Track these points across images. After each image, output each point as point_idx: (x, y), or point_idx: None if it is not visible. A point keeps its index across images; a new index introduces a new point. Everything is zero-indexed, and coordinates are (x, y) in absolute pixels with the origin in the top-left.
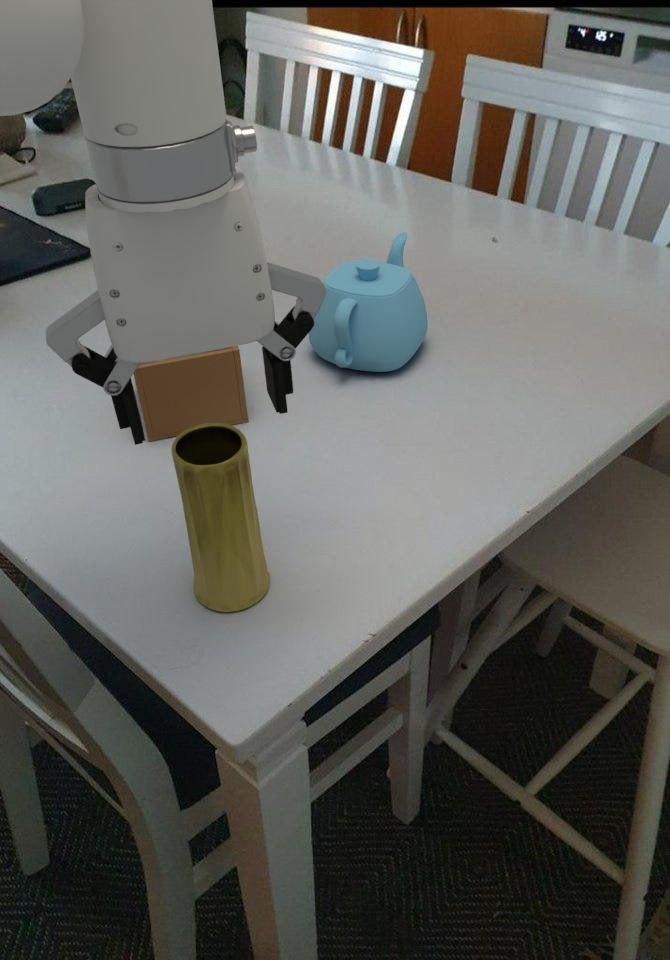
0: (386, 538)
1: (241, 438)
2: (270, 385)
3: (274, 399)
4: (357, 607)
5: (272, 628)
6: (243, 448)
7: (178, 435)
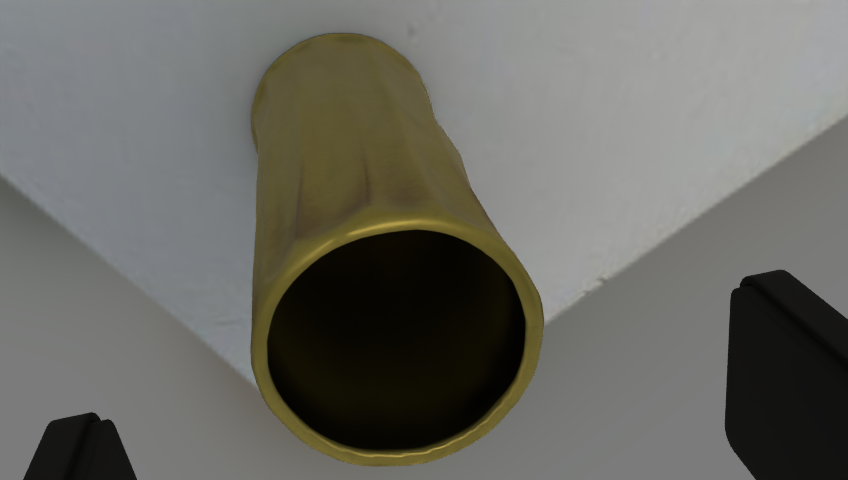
0: (717, 21)
1: (528, 326)
2: (783, 432)
3: (757, 461)
4: (596, 216)
5: None
6: (528, 381)
7: (274, 293)
